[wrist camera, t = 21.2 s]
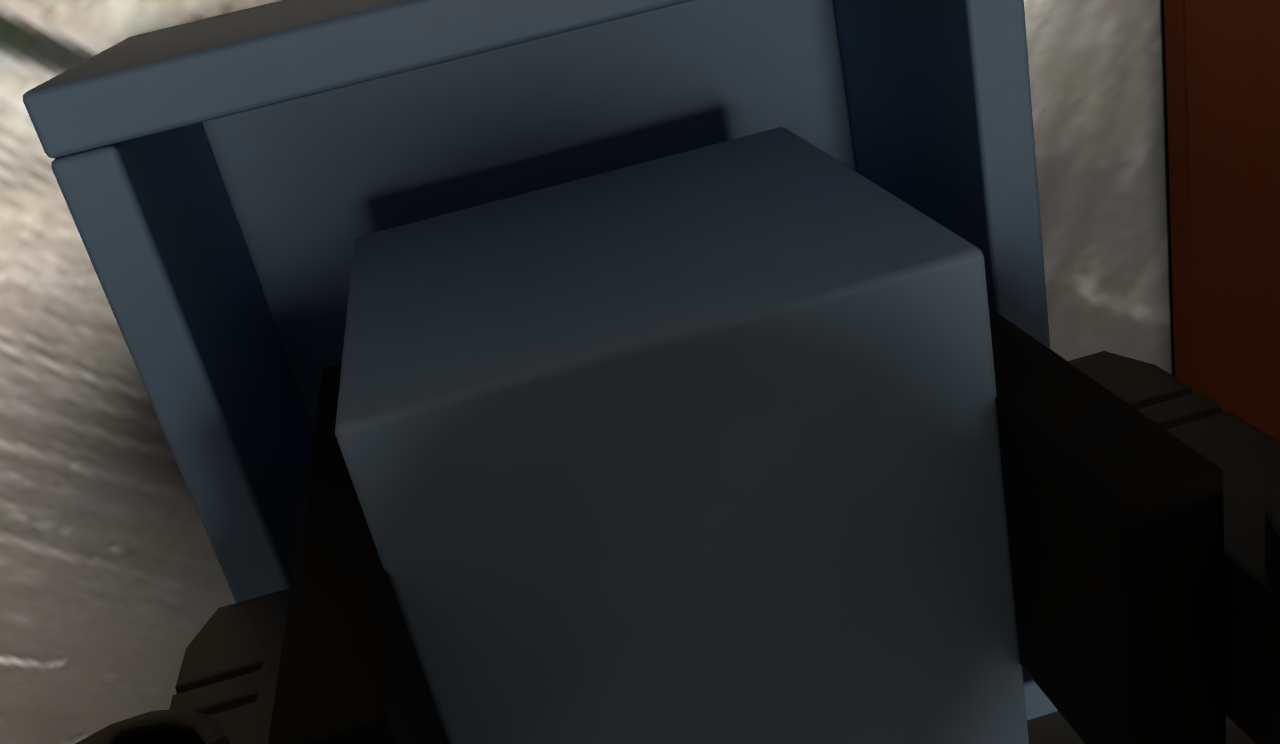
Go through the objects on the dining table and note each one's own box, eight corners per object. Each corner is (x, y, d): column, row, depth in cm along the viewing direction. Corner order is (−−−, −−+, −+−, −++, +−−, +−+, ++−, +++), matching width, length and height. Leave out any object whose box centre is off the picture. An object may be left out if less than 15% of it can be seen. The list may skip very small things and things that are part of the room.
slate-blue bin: (933, 533, 19) (1079, 706, 15) (377, 698, 18) (372, 929, 14) (845, -136, 15) (1015, -148, 11) (126, 37, 14) (17, 94, 10)
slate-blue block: (844, 496, 15) (1033, 752, 11) (472, 605, 15) (507, 919, 10) (784, 124, 13) (986, 248, 9) (351, 236, 13) (331, 429, 8)
